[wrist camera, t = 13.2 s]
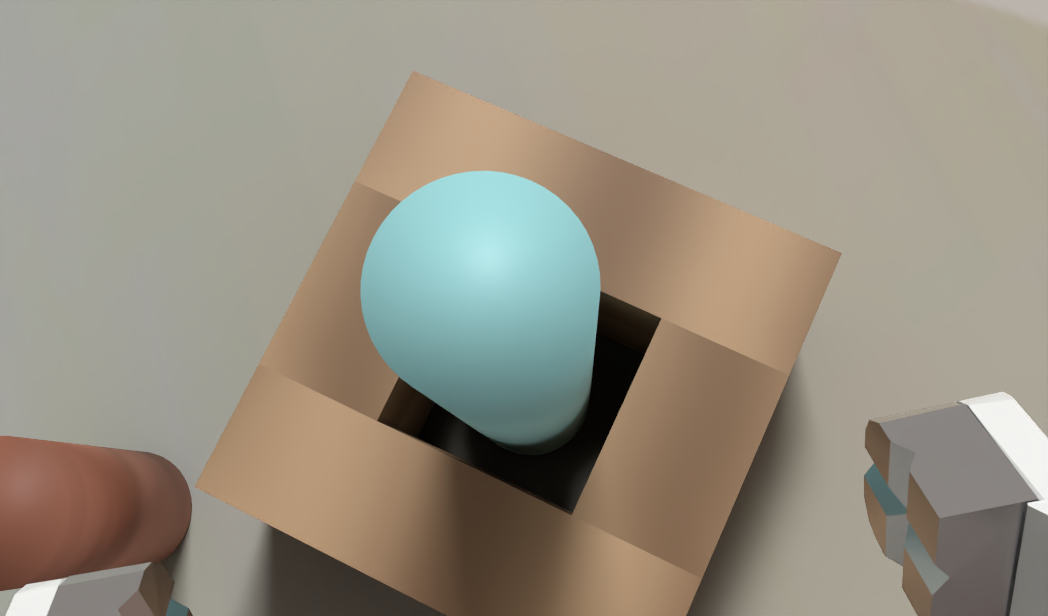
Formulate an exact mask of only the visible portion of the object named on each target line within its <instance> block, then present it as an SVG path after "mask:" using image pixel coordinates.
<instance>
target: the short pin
mask: <svg viewBox="0 0 1048 616" xmlns="http://www.w3.org/2000/svg"><path fill="white" fill-rule="evenodd" d="M191 510H192V503H191V495H190V490H189V487H188V485H187V482H186V480H185V478H184V477H183V475H182V474H181V472H180V471H179V470H178V469H177V468H176V466H175V465H173V464H172V463H171V462H170V461H168V460H167V459H165V458H163V457H161V456H159V455H156V454H152V453H148V452H139V451H131V450H122V449H114V448H105V447H97V446H88V445H80V444H71V443H63V442H54V441H46V440H37V439H29V438H20V437H12V436H0V591H4V590H10V589H17V588H23V587H24V586H25V585H26V584H32V583H38V582H44V581H50V580H56V579H62V578H68V577H69V576H73V575H79V574H85V573H91V572H96V571H102V570H108V569H114V568H120V567H125V566H131V565H137V564H143V563H149V562H156V563H160V562H161V561H163V560H164V559H166V558H167V557H168V556H170V555H171V554H172V552H173V551H174V550H175V549H176V548H177V547H178V546H179V544H180V543H181V541H182V539H183V538H184V536H185V534H186V532H187V529H188V526H189V523H190V518H191Z"/></svg>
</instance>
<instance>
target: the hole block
mask: <svg viewBox="0 0 1048 616" xmlns="http://www.w3.org/2000/svg"><path fill="white" fill-rule="evenodd" d="M470 171H495V172H503V173H508V174H513V175H517V176H520V177H522V178H525V179H528V180H531V181H533V182H535V183H537V184H539V185H541V186H543V187H545V188H546V189H547V190H549V191H550V192H552V193H553V194H555V195H556V196H557V197H559V198H560V199H561V200H562V201H563V202H564V203H565V204H566V205H567V206H569V208H570V209H571V210H572V211H573V212H574V214H575V215H576V216H577V217H578V218H579V220H580V221H581V223H582V225H583V226H584V228H585V229H586V231H587V233H588V235H589V237H590V239H591V242H592V244H593V246H594V250H595V253H596V256H597V259H598V265H599V271H600V289H601V291H600V300H599V310H598V320H597V330H596V332H597V333H599V334H601V335H603V336H605V337H608V338H610V339H612V340H614V341H616V342H619V343H621V344H623V345H625V346H627V347H630V348H632V349H634V350H636V351H638V352H641V353H643V354H645V356H644V358H643V360H642V362H641V364H640V367H639V369H638V371H637V373H636V375H635V378H634V380H633V382H632V384H631V386H630V389H629V391H628V393H627V395H626V397H625V399H624V402H623V404H622V406H621V408H620V410H619V413H618V415H617V417H616V419H615V421H614V424H613V426H612V428H611V430H610V432H609V434H608V437H607V439H606V441H605V443H604V445H603V448H602V450H601V452H600V454H599V456H598V459H597V461H596V463H595V465H594V467H593V470H592V472H591V474H590V476H589V478H588V480H587V483H586V485H585V487H584V489H583V491H582V494H581V496H580V498H579V500H578V502H577V505H576V507H575V509H574V511H573V512H571V511H569V510H566V509H564V508H562V507H560V506H558V505H556V504H554V503H552V502H550V501H548V500H546V499H544V498H542V497H540V496H538V495H536V494H533V493H531V492H529V491H527V490H525V489H523V488H521V487H519V486H517V485H515V484H513V483H511V482H509V481H507V480H505V479H503V478H500V477H498V476H496V475H494V474H492V473H490V472H488V471H486V470H484V469H482V468H480V467H478V466H476V465H474V464H472V463H469V462H467V461H465V460H463V459H461V458H459V457H457V456H455V455H453V454H451V453H449V452H447V451H445V450H443V449H441V448H439V447H436V446H434V445H432V444H430V443H428V442H426V441H424V440H422V439H420V438H418V436H419V434H420V432H421V430H422V428H423V426H424V423H425V421H426V419H427V417H428V415H429V413H430V411H431V409H432V407H433V405H434V403H435V402H434V401H432V400H431V399H429V398H428V397H426V396H425V395H424V394H422V393H421V392H419V391H418V390H416V389H415V388H413V387H412V386H410V385H409V384H408V383H406V382H405V381H404V380H402V379H401V378H400V377H399V376H398V375H397V374H396V373H395V372H394V371H393V370H392V369H391V368H390V367H389V366H388V365H387V364H386V362H385V361H384V360H383V358H382V357H381V356H380V354H379V353H378V351H377V349H376V347H375V346H374V344H373V342H372V340H371V338H370V335H369V333H368V330H367V328H366V325H365V321H364V317H363V313H362V306H361V297H360V295H361V276H362V270H363V264H364V261H365V258H366V254H367V251H368V249H369V246H370V244H371V242H372V239H373V237H374V235H375V234H376V232H377V230H378V229H379V227H380V225H381V224H382V223H383V221H384V220H385V219H386V217H387V216H388V215H389V214H390V212H391V211H392V210H393V209H394V208H395V207H396V206H397V205H398V204H399V203H400V202H401V201H403V200H404V199H405V198H407V197H408V196H409V195H410V194H412V193H413V192H414V191H416V190H418V189H420V188H421V187H423V186H425V185H426V184H428V183H431V182H433V181H435V180H438V179H440V178H443V177H446V176H450V175H453V174H457V173H463V172H470ZM841 254H842V253H840V252H838V251H835V250H833V249H831V248H828V247H826V246H823V245H821V244H819V243H816V242H814V241H812V240H809V239H807V238H805V237H802V236H800V235H798V234H795V233H793V232H791V231H788V230H786V229H784V228H781V227H779V226H776V225H774V224H772V223H769V222H767V221H765V220H762V219H760V218H758V217H755V216H753V215H751V214H748V213H746V212H744V211H741V210H739V209H737V208H734V207H732V206H729V205H727V204H725V203H722V202H720V201H718V200H715V199H713V198H711V197H708V196H706V195H704V194H701V193H699V192H697V191H694V190H692V189H690V188H687V187H685V186H682V185H680V184H678V183H675V182H673V181H671V180H668V179H666V178H664V177H661V176H659V175H657V174H654V173H652V172H650V171H647V170H645V169H643V168H640V167H638V166H635V165H633V164H631V163H628V162H626V161H624V160H621V159H619V158H617V157H614V156H612V155H610V154H607V153H605V152H603V151H600V150H598V149H596V148H593V147H591V146H588V145H586V144H584V143H581V142H579V141H577V140H574V139H572V138H570V137H567V136H565V135H563V134H560V133H558V132H556V131H553V130H551V129H549V128H546V127H544V126H541V125H539V124H537V123H534V122H532V121H530V120H527V119H525V118H523V117H520V116H518V115H516V114H513V113H511V112H509V111H506V110H504V109H502V108H499V107H497V106H494V105H492V104H490V103H487V102H485V101H483V100H480V99H478V98H476V97H473V96H471V95H469V94H466V93H464V92H462V91H459V90H457V89H455V88H452V87H450V86H447V85H445V84H443V83H440V82H438V81H436V80H433V79H431V78H429V77H426V76H424V75H422V74H419V73H417V72H415V71H413V72H412V74H411V76H410V77H409V79H408V81H407V83H406V85H405V87H404V89H403V91H402V93H401V95H400V96H399V98H398V100H397V102H396V104H395V106H394V108H393V110H392V112H391V114H390V116H389V117H388V119H387V121H386V123H385V125H384V127H383V129H382V131H381V133H380V135H379V136H378V138H377V140H376V142H375V144H374V146H373V148H372V150H371V152H370V154H369V156H368V157H367V159H366V161H365V163H364V165H363V167H362V169H361V171H360V173H359V175H358V176H357V178H356V180H355V182H354V184H353V186H352V188H351V190H350V192H349V194H348V196H347V197H346V199H345V201H344V203H343V205H342V207H341V209H340V211H339V213H338V215H337V216H336V218H335V220H334V222H333V224H332V226H331V228H330V230H329V232H328V234H327V236H326V237H325V239H324V241H323V243H322V245H321V247H320V249H319V251H318V253H317V255H316V256H315V258H314V260H313V262H312V264H311V266H310V268H309V270H308V272H307V274H306V276H305V277H304V279H303V281H302V283H301V285H300V287H299V289H298V291H297V293H296V295H295V297H294V298H293V300H292V302H291V304H290V306H289V308H288V310H287V312H286V314H285V316H284V317H283V319H282V321H281V323H280V325H279V327H278V329H277V331H276V333H275V335H274V337H273V338H272V340H271V342H270V344H269V346H268V348H267V350H266V352H265V354H264V356H263V357H262V359H261V361H260V363H259V365H258V367H257V369H256V371H255V373H254V375H253V377H252V378H251V380H250V382H249V384H248V386H247V388H246V390H245V392H244V394H243V396H242V397H241V399H240V401H239V403H238V405H237V407H236V409H235V411H234V413H233V415H232V417H231V418H230V420H229V422H228V424H227V426H226V428H225V430H224V432H223V434H222V436H221V437H220V439H219V441H218V443H217V445H216V447H215V449H214V451H213V453H212V455H211V457H210V458H209V460H208V462H207V464H206V466H205V468H204V470H203V472H202V474H201V476H200V477H199V479H198V481H197V483H196V485H195V487H196V488H198V489H200V490H202V491H204V492H206V493H208V494H210V495H212V496H214V497H216V498H218V499H220V500H222V501H223V502H225V503H227V504H229V505H231V506H233V507H235V508H237V509H239V510H241V511H243V512H245V513H247V514H249V515H251V516H253V517H255V518H257V519H259V520H261V521H263V522H265V523H267V524H268V525H270V526H272V527H274V528H276V529H278V530H280V531H282V532H284V533H286V534H288V535H290V536H292V537H294V538H296V539H298V540H300V541H302V542H304V543H306V544H308V545H310V546H312V547H314V548H315V549H317V550H319V551H321V552H323V553H325V554H327V555H329V556H331V557H333V558H335V559H337V560H339V561H341V562H343V563H345V564H347V565H349V566H351V567H353V568H355V569H357V570H359V571H360V572H362V573H364V574H366V575H368V576H370V577H372V578H374V579H376V580H378V581H380V582H382V583H384V584H386V585H388V586H390V587H392V588H394V589H396V590H398V591H400V592H402V593H404V594H405V595H407V596H409V597H411V598H413V599H415V600H417V601H419V602H421V603H423V604H425V605H427V606H429V607H431V608H433V609H435V610H437V611H439V612H441V613H443V614H445V615H447V616H686V615H687V612H688V610H689V608H690V605H691V603H692V601H693V598H694V596H695V594H696V591H697V589H698V587H699V584H700V582H701V580H702V577H703V575H704V573H705V570H706V568H707V566H708V564H709V561H710V559H711V557H712V554H713V552H714V550H715V547H716V545H717V543H718V540H719V538H720V536H721V533H722V531H723V529H724V526H725V524H726V522H727V519H728V517H729V515H730V512H731V510H732V508H733V505H734V503H735V501H736V498H737V496H738V494H739V491H740V489H741V487H742V484H743V482H744V480H745V477H746V475H747V473H748V470H749V468H750V466H751V463H752V461H753V459H754V456H755V454H756V452H757V449H758V447H759V445H760V442H761V440H762V438H763V435H764V433H765V431H766V428H767V426H768V424H769V421H770V419H771V417H772V414H773V412H774V410H775V407H776V405H777V403H778V400H779V398H780V396H781V393H782V391H783V389H784V386H785V384H786V382H787V379H788V377H789V375H790V373H791V370H792V368H793V366H794V363H795V361H796V359H797V356H798V354H799V352H800V349H801V347H802V345H803V342H804V340H805V338H806V335H807V333H808V331H809V328H810V326H811V324H812V321H813V319H814V317H815V314H816V312H817V310H818V307H819V305H820V303H821V300H822V298H823V296H824V293H825V291H826V289H827V286H828V284H829V282H830V279H831V277H832V275H833V272H834V270H835V268H836V265H837V263H838V261H839V258H840V256H841Z"/></svg>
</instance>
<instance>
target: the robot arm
mask: <svg viewBox="0 0 1048 616" xmlns="http://www.w3.org/2000/svg"><path fill="white" fill-rule="evenodd" d="M865 448H866V449H867V451H868V453H869V455H870V456H871V458H872V460H873V461H874V464H873V465H872V466H871V468H870V469H869V470H868V471H867V473H866V474H865V475H864V498H865V503H866V508H867V513H868V517H869V522H870V524H871V527H872V529H873V532H874V535H875V537H876V539H877V541H878V543H879V545H880V547H881V549H882V551H883V553H884V555H885V556H886V557H888V558H889V559H891V560H893V561H894V562H896V563H898V564H900V565H901V566H903V581H902V588H903V590H904V592H905V594H906V595H907V597H908V599H909V601H910V603H911V604H912V606H913V608H914V610H915V612H916V614H917V615H918V616H1048V438H1047V437H1046V435H1045V434H1044V433H1043V432H1042V431H1041V430H1040V428H1039V427H1038V426H1037V425H1036V424H1035V423H1034V421H1033V420H1032V419H1031V418H1030V417H1029V416H1028V414H1027V413H1026V412H1025V411H1024V410H1023V409H1022V407H1021V406H1020V405H1019V404H1018V403H1017V402H1016V400H1015V399H1014V398H1013V397H1012V396H1010V395H1008V394H1006V393H1004V392H999V393H995V394H990V395H985V396H981V397H976V398H971V399H966V400H962V401H958V402H957V403H949V404H944V405H939V406H934V407H929V408H924V409H920V410H915V411H910V412H905V413H900V414H895V415H891V416H886V417H881V418H876V419H871V420H869V422H868V425H867V427H866V432H865ZM173 586H174V581H173V580H172V578H171V576H170V575H169V573H168V572H167V570H166V569H165V567H164V565H163V564H162V563H156V562H149V563H143V564H137V565H131V566H125V567H120V568H114V569H108V570H102V571H96V572H91V573H85V574H79V575H73V576H69V577H68V578H62V579H56V580H50V581H44V582H38V583H32V584H26V585H25V586H24V587H23V588H22V589H20V590H19V591H18V592H17V593H16V594H15V595H14V597H13V599H12V601H11V604H10V606H9V608H8V610H7V613H6V615H5V616H193V615H192V613H191V612H190V610H189V608H187V607H185V606H183V605H181V604H179V603H177V602H175V601H174V600H172V599H170V597H171V593H172V589H173Z"/></svg>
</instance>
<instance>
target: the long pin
mask: <svg viewBox="0 0 1048 616" xmlns="http://www.w3.org/2000/svg"><path fill="white" fill-rule="evenodd" d="M600 291H601V289H600V271H599V265H598V259H597V256H596V253H595V250H594V246H593V244H592V242H591V239H590V237H589V235H588V233H587V231H586V229H585V228H584V226H583V225H582V223H581V221H580V220H579V218H578V217H577V216H576V215H575V214H574V212H573V211H572V210H571V209H570V208H569V206H567V205H566V204H565V203H564V202H563V201H562V200H561V199H560V198H559V197H557V196H556V195H555V194H553V193H552V192H550V191H549V190H547V189H546V188H545V187H543V186H541V185H539V184H537V183H535V182H533V181H531V180H528V179H525V178H522V177H520V176H517V175H513V174H508V173H503V172H495V171H470V172H463V173H457V174H453V175H450V176H446V177H443V178H440V179H438V180H435V181H433V182H431V183H428V184H426V185H425V186H423V187H421V188H420V189H418V190H416V191H414V192H413V193H412V194H410V195H409V196H408V197H407V198H405V199H404V200H403V201H401V202H400V203H399V204H398V205H397V206H396V207H395V208H394V209H393V210H392V211H391V212H390V214H389V215H388V216H387V217H386V219H385V220H384V221H383V223H382V224H381V225H380V227H379V229H378V230H377V232H376V234H375V235H374V237H373V239H372V242H371V244H370V246H369V249H368V251H367V254H366V258H365V261H364V264H363V270H362V276H361V295H360V297H361V306H362V313H363V317H364V321H365V325H366V328H367V330H368V333H369V335H370V338H371V340H372V342H373V344H374V346H375V347H376V349H377V351H378V353H379V354H380V356H381V357H382V358H383V360H384V361H385V362H386V364H387V365H388V366H389V367H390V368H391V369H392V370H393V371H394V372H395V373H396V374H397V375H398V376H399V377H400V378H401V379H402V380H404V381H405V382H406V383H408V384H409V385H410V386H412V387H413V388H415V389H416V390H418V391H419V392H421V393H422V394H424V395H425V396H426V397H428V398H429V399H431V400H432V401H434V402H435V403H437V404H438V405H440V406H441V407H443V408H444V409H446V410H447V411H449V412H450V413H452V414H453V415H455V416H456V417H458V418H459V419H460V420H462V421H463V422H465V423H466V424H468V425H469V426H471V427H472V428H474V429H475V430H477V431H478V432H480V433H481V434H483V435H484V436H486V437H487V438H489V439H490V440H492V441H493V442H495V443H496V444H497V445H499V446H501V447H502V448H504V449H506V450H509V451H511V452H514V453H518V454H523V455H539V454H544V453H548V452H551V451H554V450H556V449H558V448H560V447H561V446H563V445H565V444H566V443H567V442H568V441H570V440H571V439H572V438H573V437H574V436H575V435H576V433H577V432H578V431H579V429H580V428H581V426H582V424H583V422H584V420H585V418H586V415H587V412H588V408H589V400H590V390H591V380H592V370H593V360H594V350H595V340H596V330H597V320H598V310H599V300H600Z"/></svg>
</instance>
